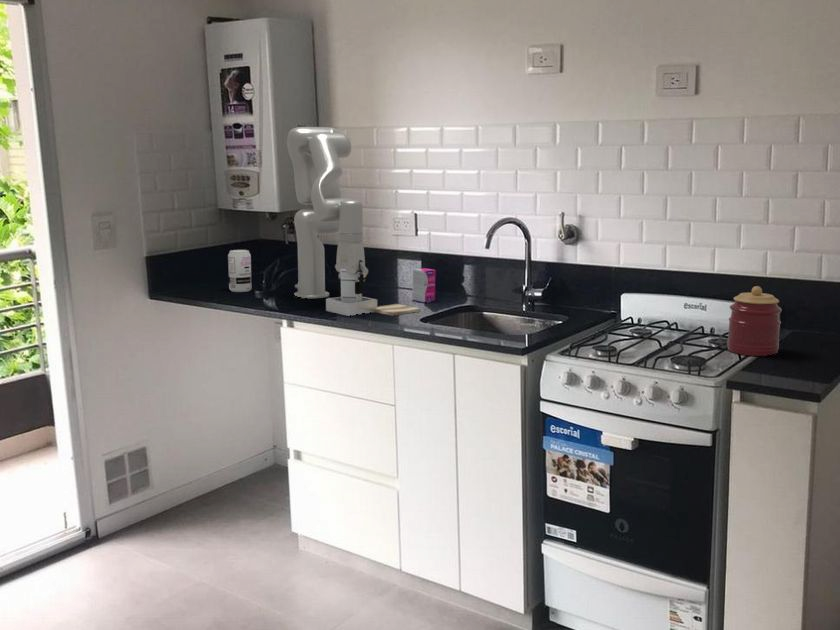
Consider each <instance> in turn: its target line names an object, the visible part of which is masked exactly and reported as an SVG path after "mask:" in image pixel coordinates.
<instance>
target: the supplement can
mask: <svg viewBox="0 0 840 630" xmlns="http://www.w3.org/2000/svg"><path fill="white" fill-rule="evenodd" d="M251 258H252V255H251V253H250V250H247V249H233V250H232V249H231V250H229V253H228V254H227V260H228V261H227V264H228V265H227V267H228V288H229V290H230V291H231V292H233V293H246V292H250V291H251V290H252V289H253V288H252V287H253V286H252V259H251Z"/></svg>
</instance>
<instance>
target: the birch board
mask: <svg viewBox="0 0 840 630" xmlns="http://www.w3.org/2000/svg"><path fill="white" fill-rule="evenodd" d="M413 312H414V313H419V312H421V308H419V307H414V306H409V305H405V304H399V303H393V304H387V305H379V306H378V305H377V309H375V312H374V313H377V314H382V315H387V316H391V317H394V315H395V316H401V315H406V314H405V313H408V314H414V313H413ZM400 314H401V315H400Z"/></svg>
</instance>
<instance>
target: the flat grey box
mask: <svg viewBox="0 0 840 630" xmlns="http://www.w3.org/2000/svg"><path fill="white" fill-rule="evenodd" d="M377 307H378V299H376V298H371V297H367V296H362V301H359V302H351V303H347V302H342V301H341V296H338V297H329V296H328V297H326V299H325V312H329V313H335V314H337V315H343V316H345V317H346V316H348V317H351V316H357V315H356V314H358V315H363V314H362V313H365V314H370V312H371V313H376V312H375V309H377ZM350 315H351V316H350Z"/></svg>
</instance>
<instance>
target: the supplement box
mask: <svg viewBox="0 0 840 630" xmlns="http://www.w3.org/2000/svg"><path fill="white" fill-rule="evenodd" d="M436 271H437V270H436V269H432V268H426V267H423V268H413V271H412V273H413V274H412V276H413V277H412V302H414V301H416V303H419V302H421V303H420V304H425V302H427V303H432V302H431V301H434V302H436V299H435V298H436V297H435V296H436Z"/></svg>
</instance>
